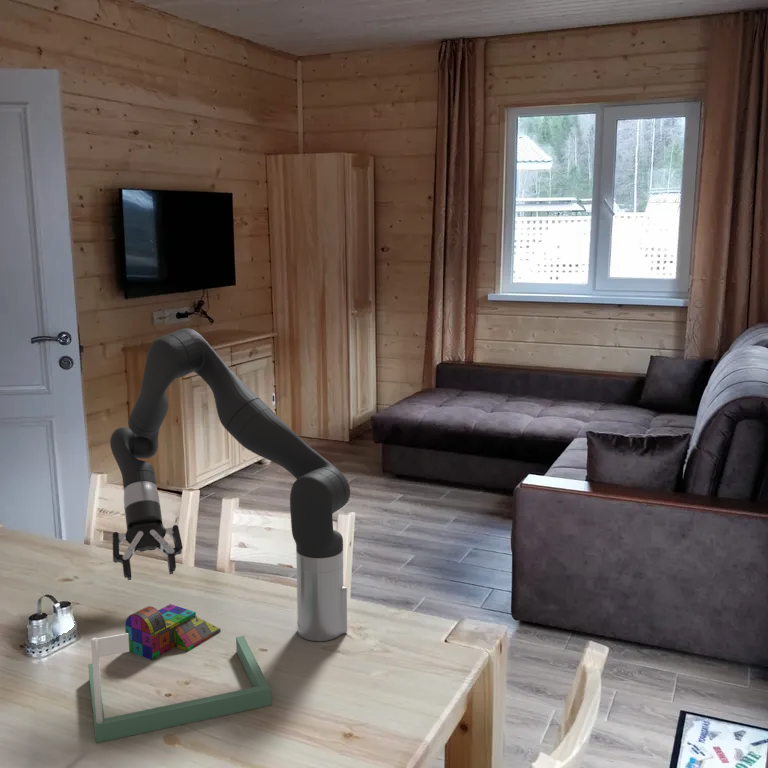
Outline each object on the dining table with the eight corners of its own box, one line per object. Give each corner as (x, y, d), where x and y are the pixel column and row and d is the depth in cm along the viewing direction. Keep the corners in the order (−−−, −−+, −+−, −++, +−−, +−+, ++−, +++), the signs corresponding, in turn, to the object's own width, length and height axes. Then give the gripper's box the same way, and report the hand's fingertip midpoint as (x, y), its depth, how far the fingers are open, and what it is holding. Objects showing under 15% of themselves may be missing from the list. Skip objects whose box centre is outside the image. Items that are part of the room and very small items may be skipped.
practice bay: (244, 650, 157) (241, 566, 154) (270, 705, 139) (268, 611, 136) (89, 679, 146) (83, 590, 143) (96, 743, 128) (89, 642, 125)
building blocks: (165, 666, 152) (163, 623, 150) (126, 651, 157) (124, 610, 155) (220, 632, 164) (219, 593, 163) (183, 620, 169) (181, 581, 168)
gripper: (108, 502, 175) (115, 573, 167) (176, 495, 180) (186, 563, 172) (108, 518, 181) (114, 587, 173) (174, 510, 186) (183, 577, 178)
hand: (150, 575), depth 172 cm, fingers open, 8 cm apart
